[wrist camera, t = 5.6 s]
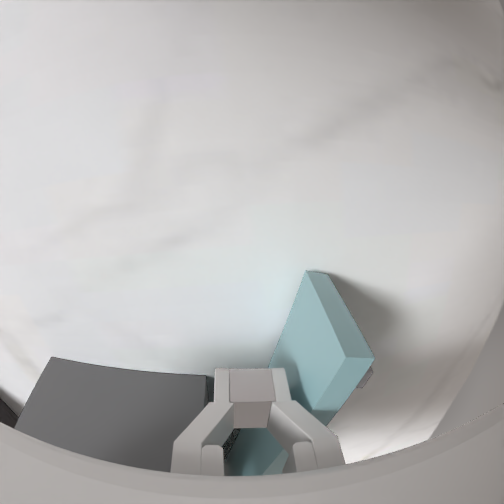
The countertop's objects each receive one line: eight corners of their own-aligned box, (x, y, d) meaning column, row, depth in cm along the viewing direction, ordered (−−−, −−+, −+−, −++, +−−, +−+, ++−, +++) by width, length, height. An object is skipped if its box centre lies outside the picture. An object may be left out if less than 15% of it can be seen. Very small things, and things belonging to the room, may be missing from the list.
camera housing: (51, 356, 14) (8, 439, 7) (206, 375, 14) (201, 490, 8) (111, 453, 19) (99, 511, 13) (217, 465, 20) (218, 530, 14)
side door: (305, 270, 12) (345, 357, 7) (344, 277, 12) (395, 358, 7) (220, 469, 19) (221, 517, 15) (241, 470, 20) (243, 517, 15)
